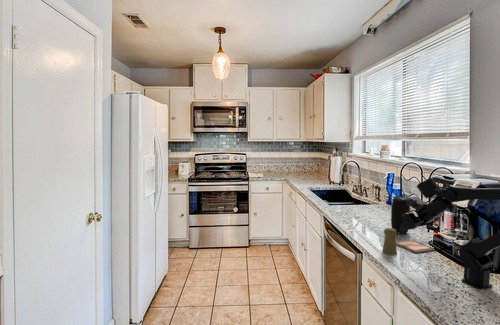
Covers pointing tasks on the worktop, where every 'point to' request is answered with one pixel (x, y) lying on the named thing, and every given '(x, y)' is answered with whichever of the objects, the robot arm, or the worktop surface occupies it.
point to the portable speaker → (399, 213)
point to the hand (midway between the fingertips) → (406, 228)
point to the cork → (390, 241)
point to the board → (416, 246)
